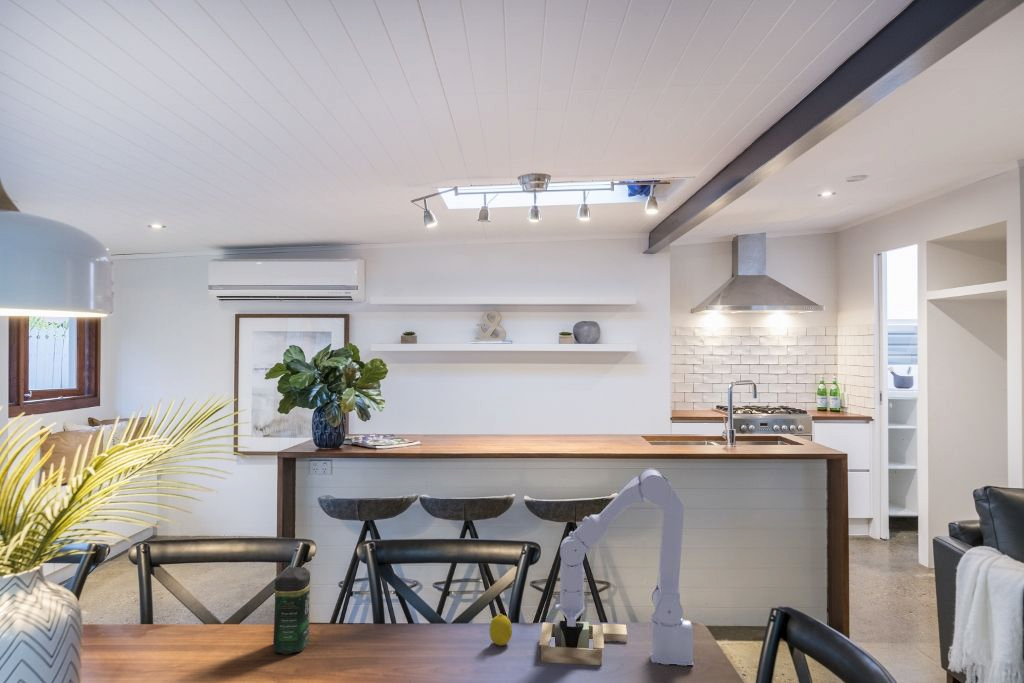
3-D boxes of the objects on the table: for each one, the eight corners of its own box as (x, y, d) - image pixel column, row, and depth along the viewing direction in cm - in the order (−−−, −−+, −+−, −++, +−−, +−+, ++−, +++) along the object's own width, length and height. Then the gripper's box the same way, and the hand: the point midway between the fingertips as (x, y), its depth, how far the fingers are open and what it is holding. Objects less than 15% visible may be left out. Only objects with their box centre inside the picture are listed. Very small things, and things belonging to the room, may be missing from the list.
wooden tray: (602, 641, 165) (602, 624, 165) (604, 667, 151) (604, 649, 151) (543, 638, 166) (543, 621, 166) (538, 664, 152) (538, 645, 152)
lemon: (502, 654, 158) (502, 620, 158) (484, 647, 161) (485, 614, 161) (516, 646, 162) (516, 613, 162) (498, 640, 165) (499, 608, 166)
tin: (588, 646, 160) (588, 621, 160) (588, 655, 156) (588, 629, 156) (555, 645, 161) (556, 620, 161) (555, 653, 157) (555, 627, 157)
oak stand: (625, 634, 169) (625, 624, 169) (627, 644, 163) (627, 634, 163) (602, 633, 170) (602, 623, 170) (602, 643, 164) (602, 633, 164)
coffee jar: (303, 655, 157) (304, 576, 157) (269, 655, 156) (270, 577, 157) (313, 637, 166) (313, 563, 167) (281, 638, 166) (281, 564, 166)
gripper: (556, 577, 166) (556, 631, 166) (554, 598, 152) (553, 657, 152) (584, 578, 166) (584, 632, 165) (584, 599, 151) (584, 659, 151)
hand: (572, 644), depth 158 cm, fingers open, 7 cm apart
